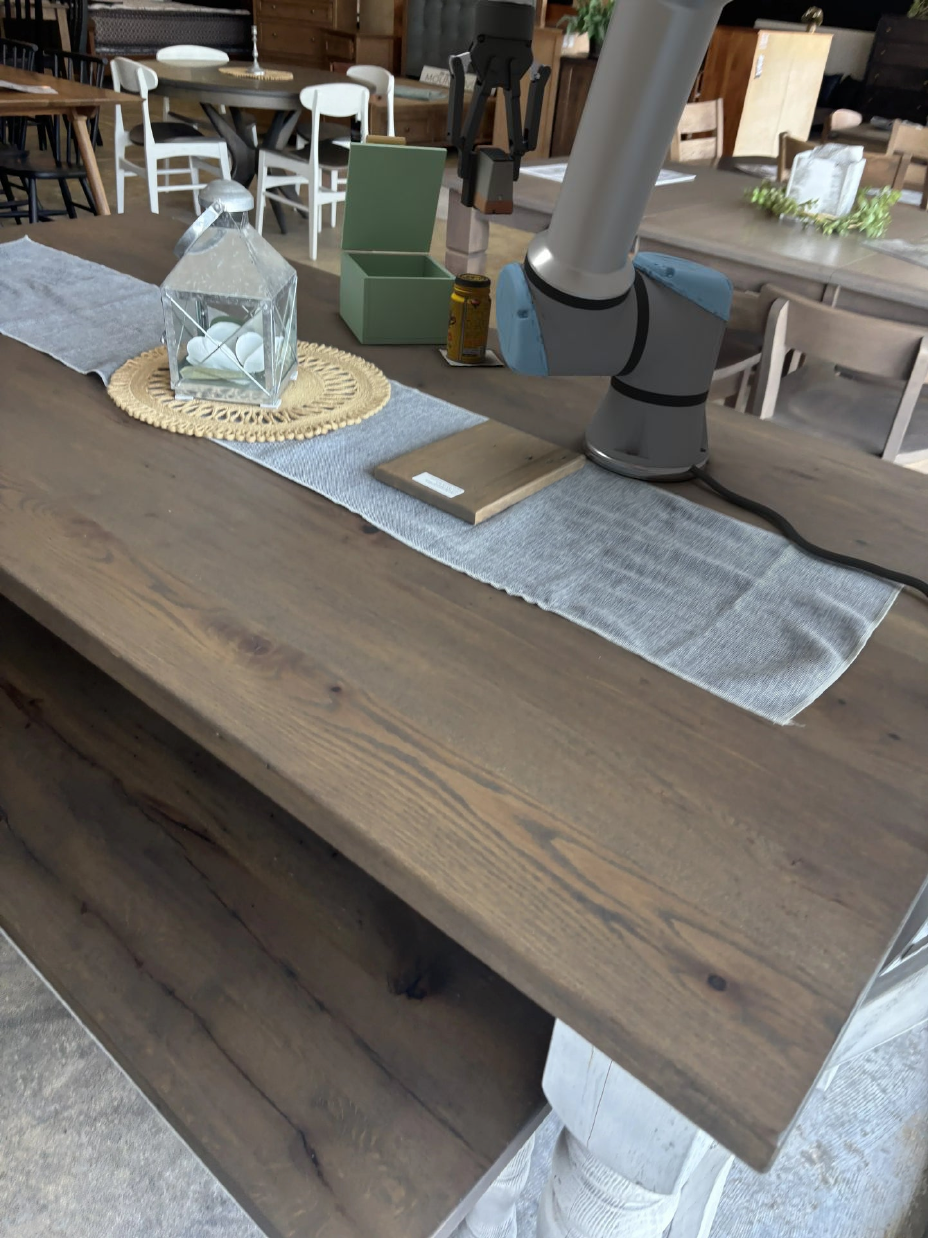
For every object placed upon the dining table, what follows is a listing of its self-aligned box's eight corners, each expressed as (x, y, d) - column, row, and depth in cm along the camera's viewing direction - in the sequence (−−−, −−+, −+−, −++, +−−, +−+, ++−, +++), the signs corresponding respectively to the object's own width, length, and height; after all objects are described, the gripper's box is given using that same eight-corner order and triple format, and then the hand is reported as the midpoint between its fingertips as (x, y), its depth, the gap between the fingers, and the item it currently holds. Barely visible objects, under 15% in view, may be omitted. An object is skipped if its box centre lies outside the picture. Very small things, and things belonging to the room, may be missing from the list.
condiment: (438, 350, 140) (445, 269, 134) (490, 351, 142) (499, 271, 136) (450, 366, 134) (457, 283, 128) (504, 367, 137) (514, 285, 130)
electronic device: (485, 199, 128) (491, 140, 124) (514, 216, 121) (521, 153, 117) (456, 199, 127) (461, 139, 122) (484, 216, 120) (490, 152, 115)
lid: (447, 150, 137) (432, 123, 142) (351, 144, 133) (339, 116, 138) (429, 252, 150) (416, 224, 155) (341, 250, 145) (330, 221, 150)
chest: (453, 343, 144) (458, 279, 138) (361, 344, 139) (364, 277, 134) (424, 314, 156) (428, 254, 150) (339, 314, 151) (340, 251, 146)
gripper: (560, 6, 116) (534, 202, 129) (428, -10, 111) (415, 197, 124) (584, 9, 111) (554, 214, 124) (446, -8, 105) (430, 209, 118)
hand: (484, 205), depth 124 cm, fingers closed on electronic device, 5 cm apart
